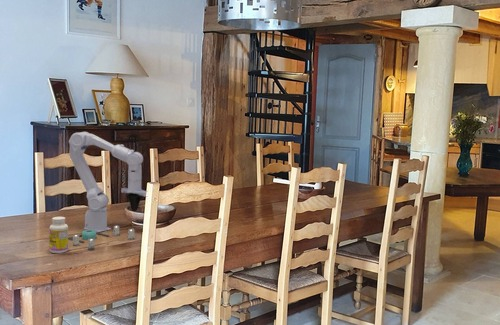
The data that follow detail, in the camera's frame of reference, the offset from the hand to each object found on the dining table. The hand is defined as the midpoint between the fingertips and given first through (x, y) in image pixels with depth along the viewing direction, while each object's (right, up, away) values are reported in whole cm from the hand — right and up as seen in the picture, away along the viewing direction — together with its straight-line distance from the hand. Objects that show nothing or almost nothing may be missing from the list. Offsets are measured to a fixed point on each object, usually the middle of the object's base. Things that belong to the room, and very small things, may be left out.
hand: (134, 210), depth 235 cm
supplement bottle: (-22, -13, -33) cm, 41 cm away
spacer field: (-8, -11, -17) cm, 22 cm away
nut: (-16, -10, -12) cm, 23 cm away
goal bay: (-16, -10, -12) cm, 23 cm away
